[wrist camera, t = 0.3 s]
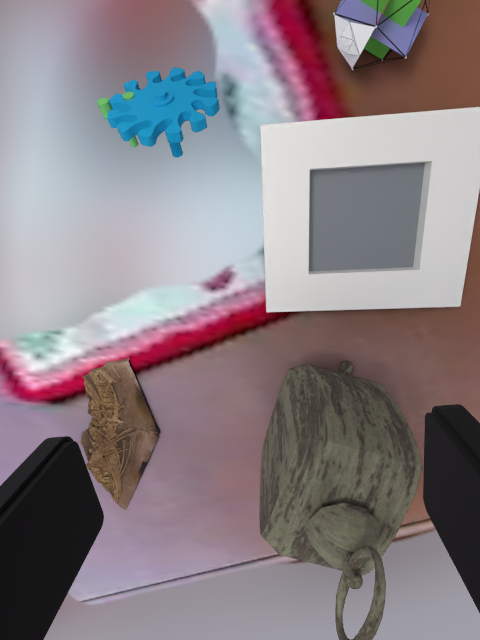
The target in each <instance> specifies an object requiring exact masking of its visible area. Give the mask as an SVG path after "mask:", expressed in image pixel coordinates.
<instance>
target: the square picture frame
mask: <svg viewBox="0 0 480 640" xmlns="http://www.w3.org/2000/svg"><path fill="white" fill-rule="evenodd" d="M260 129H261V161H262V190H263V223H264V255H265V286H266V312H291V311H325V310H359V309H393V308H428V307H460V305H461V299H462V293H463V287H464V281H465V275H466V269H467V263H468V257H469V250H470V244H471V238H472V232H473V226H474V220H475V214H476V208H477V202H478V196H479V189H480V107H473V108H461V109H449V110H436V111H424V112H412V113H400V114H388V115H376V116H363V117H351V118H339V119H327V120H315V121H302V122H290V123H278V124H266V125H260Z"/></svg>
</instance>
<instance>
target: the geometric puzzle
mask: <svg viewBox="0 0 480 640" xmlns="http://www.w3.org/2000/svg"><path fill="white" fill-rule="evenodd" d="M420 2H421V0H341V2H340V3H339V5H338V7H337V9H336V11H335V12H334V13H333V15H334V18H335V29H336V41H337V48H338V50H339V51H340V52H341V54H342V55H343V57H344V58H345V60H346V61H347V62H348V64H349V65H350V67H351V68H352V70H353V69H356V68H358V67H356V68H354V66H355V64H356V62H357V61H358V59H359V57H360V55H361V54H362V52H363V50H366V51H368V52H369V53H371V54H373V55H374V56H376V57H378V58H379V59H381V60H379V61H383V60H388V59H384V58H385V57H386V56H387V55H388V54H389V53H390V52H391V51H392V50H394V51H396V52H397V53H399V54H401V55H402V56H404V57H402V58H405V59H406V58H407V55H408V53H409V51H410V49H411V47H412V45H413V43H414V41H415V39H416V37H417V35H418V33H419V31H420V29H421V27H422V25H423V23H424V21H425V19H426V17H427V16H428V15H429V13H428V11H429V8H428V10H427V13H426V12H424V11H423V9H422V10H421V9H419V8H418V7H417V6H418V5H419V3H420ZM429 2H430V0H429ZM425 3H426V0H425ZM425 3H424V5H425ZM423 8H424V6H423ZM426 8H427V4H426ZM390 48H391V49H392V50H391V51H390V52H389V53H388V54H387V52H388V51H389V49H390ZM386 54H387V55H386ZM385 55H386V56H385ZM402 58H401V59H402ZM392 59H396V60H398V59H399V58H392ZM392 61H393V60H392ZM376 62H378V61H376ZM387 62H388V61H387ZM373 63H374V62H373ZM382 63H384V62H382ZM369 64H371V63H369ZM378 64H379V63H378ZM366 65H368V64H366ZM373 65H374V64H373ZM363 66H364V67H365V65H363ZM368 66H370V65H368ZM360 67H361V66H360ZM360 67H359V68H360Z"/></svg>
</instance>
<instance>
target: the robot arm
mask: <svg viewBox="0 0 480 640" xmlns="http://www.w3.org/2000/svg"><path fill="white" fill-rule="evenodd" d="M423 499H424V504H425V507H426V510H427V513H428V515H429V517H430V519H431V520H432V522H433V524H434V526H435V528H436V530H437V532H438V534H439V536H440V538H441V540H442V542H443V543H444V545H445V547H446V549H447V551H448V553H449V555H450V557H451V559H452V561H453V563H454V565H455V566H456V568H457V570H458V572H459V574H460V576H461V578H462V580H463V582H464V584H465V585H466V587H467V589H468V591H469V593H470V595H471V597H472V599H473V601H474V603H475V605H476V607H477V609H478V610H479V612H480V423H479V422H478V421H477V420H476V419H475V418H474V417H473V416H472V415H471V414H470V413H469V412H468V411H467V410H466V409H465V408H464V407H463V406H462V405H459V404H456V405H444V406H435V407H433V409H432V413H427V414H426V415H425V443H424V486H423ZM103 519H104V515H103V511H102V508H101V505H100V503H99V500H98V497H97V494H96V492H95V489H94V486H93V483H92V481H91V478H90V475H89V473H88V470H87V467H86V464H85V462H84V459H83V456H82V454H81V451H80V448H79V445H78V444H77V443H76V442H75V441H73V439H72V438H70V437H67V436H66V437H54V438H48V439H46V440H44V441H43V442H42V443H41V444H40V445H39V446H38V447H37V448H36V449H35V450H34V452H33V453H32V454H31V455H30V456H29V457H28V458H27V459H26V460H25V461H24V462H23V463H22V464H21V465H20V466H19V467H18V468H17V469H16V470H15V471H14V472H13V473H12V474H11V476H10V477H9V478H8V479H7V480H6V481H5V482H4V483H3V484H2V485H1V486H0V640H43V639H44V637H45V635H46V634H47V631H48V630H49V628H50V626H51V624H52V622H53V620H54V618H55V616H56V614H57V612H58V610H59V609H60V606H61V605H62V603H63V601H64V599H65V597H66V595H67V593H68V591H69V589H70V587H71V585H72V583H73V582H74V580H75V578H76V576H77V574H78V572H79V570H80V568H81V566H82V564H83V562H84V560H85V558H86V557H87V555H88V553H89V551H90V549H91V547H92V545H93V543H94V541H95V539H96V537H97V535H98V533H99V531H100V530H101V527H102V525H103Z"/></svg>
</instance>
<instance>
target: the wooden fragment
mask: <svg viewBox="0 0 480 640" xmlns="http://www.w3.org/2000/svg"><path fill="white" fill-rule="evenodd" d="M129 359H130V358H128V359H124V360H119V361H110V362H107V363H106V364H104V366H103V367H100V368H96V369H92V370H91V371H90V372H89V374H87V375H85V376H83V378H84V379H85V382H84V384H85V388H86V396H87V398H89V399H90V400H89V404H88V407H89V410H88V414H90V415H91V416H93V418H92V421H91V422H90V425H89V429H88V430H86V431H85V432H83V433H82V437H81V444H82V446H83V448H84V451H85V452H86V456H87V459H88V464H87V466H86V467H87V468H88V469H89V470H90V471H91V472H92V474H93V476H95V478H96V480H97V481H98V482H99V483H101V484H102V485H103V487H104V488H105V489H106V491H108V492H109V493H110V494H111V496H112V498H113V500H114V501H115V502H116V503H117V504H118V505H119V506H120V507H121V508H122V509H124V510H126V508H127V506H128V504H129V501H130V499H131V497H132V495H133V493H134V491H135V488H136V486H137V484H138V482H139V479H140V477H141V475H142V472H143V470H144V468H145V466H146V464H147V462H148V459H149V457H150V455H151V452H152V449H153V447H154V445H155V443H156V441H157V439H158V436H159V435H155V434H154V433H156V434H160V432H159V430H158V429H157V428H156V425H155V423H154V420H153V418H152V415H151V413H150V410H149V409H148V406H147V403H146V401H145V399H144V396H143V394H142V391H141V389H140V386H139V385H138V381H137V380H136V377H135V375H134V373H133V370H132V369H131V366H130V364H129V362H128V361H129Z"/></svg>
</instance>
